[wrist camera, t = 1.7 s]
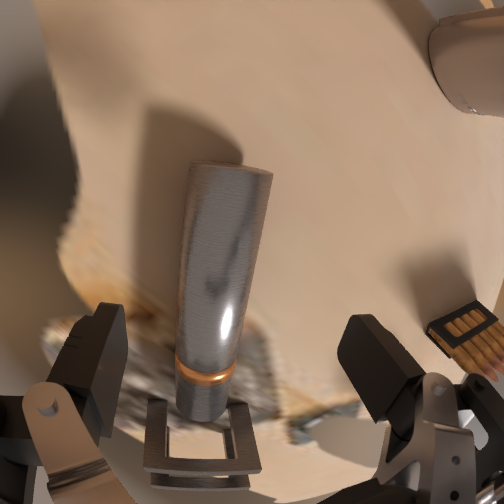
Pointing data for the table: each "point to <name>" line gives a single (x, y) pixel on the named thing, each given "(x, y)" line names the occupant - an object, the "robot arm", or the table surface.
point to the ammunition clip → (471, 339)
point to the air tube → (215, 280)
